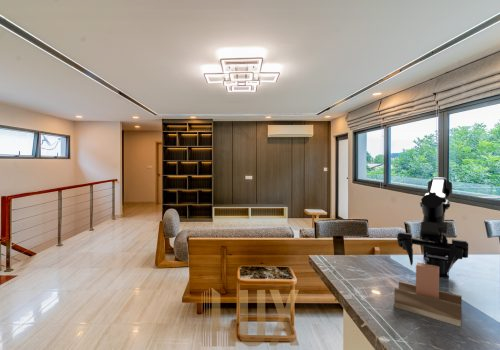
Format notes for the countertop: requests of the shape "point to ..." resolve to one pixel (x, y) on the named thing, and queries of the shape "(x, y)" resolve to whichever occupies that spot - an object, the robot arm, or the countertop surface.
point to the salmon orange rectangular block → (427, 280)
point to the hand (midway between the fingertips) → (428, 268)
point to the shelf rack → (429, 304)
